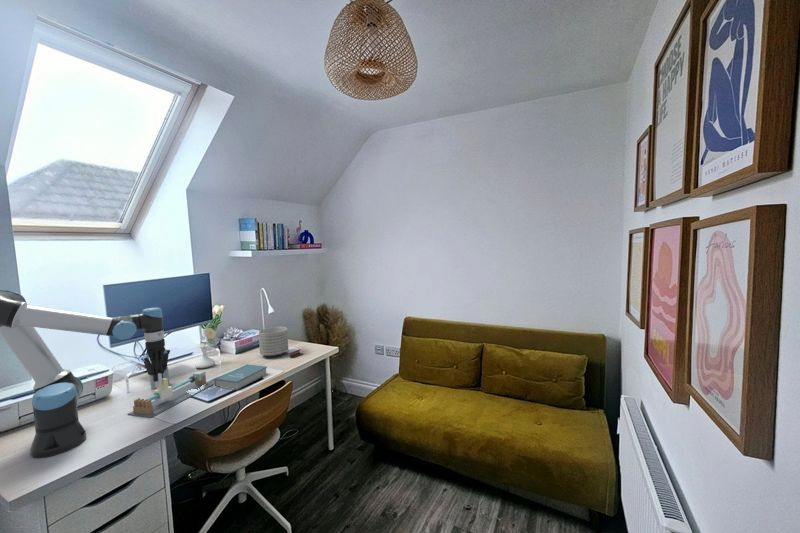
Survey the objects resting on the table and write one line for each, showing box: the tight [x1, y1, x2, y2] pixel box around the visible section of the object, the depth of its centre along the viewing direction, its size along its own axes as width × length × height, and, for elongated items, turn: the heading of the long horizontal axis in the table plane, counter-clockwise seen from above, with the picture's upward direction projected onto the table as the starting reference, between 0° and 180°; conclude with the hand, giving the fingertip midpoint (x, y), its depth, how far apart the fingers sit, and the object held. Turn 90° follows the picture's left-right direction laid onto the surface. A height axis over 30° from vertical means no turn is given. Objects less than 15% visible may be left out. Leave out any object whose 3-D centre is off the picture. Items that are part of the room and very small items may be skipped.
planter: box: [258, 326, 289, 358], centre depth 229 cm, size 19×19×18 cm
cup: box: [149, 366, 170, 390], centre depth 181 cm, size 8×8×10 cm
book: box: [214, 363, 268, 391], centre depth 187 cm, size 23×16×5 cm
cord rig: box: [127, 370, 215, 419], centre depth 165 cm, size 36×14×7 cm, turn 166°
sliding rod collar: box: [152, 378, 173, 401], centre depth 159 cm, size 6×5×10 cm
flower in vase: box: [195, 327, 217, 369], centre depth 210 cm, size 13×11×25 cm
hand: (158, 386), depth 157 cm, fingers closed
